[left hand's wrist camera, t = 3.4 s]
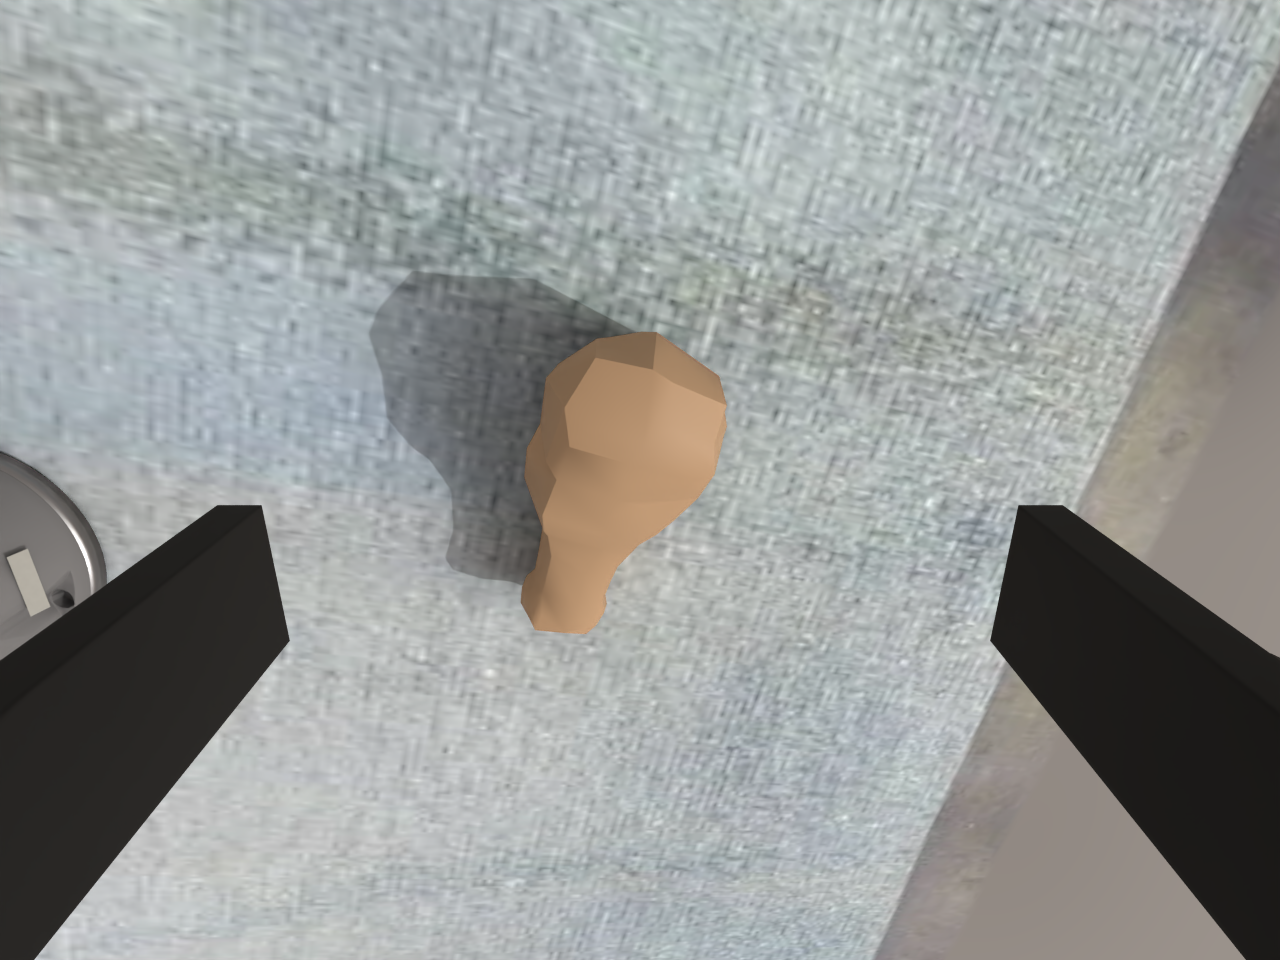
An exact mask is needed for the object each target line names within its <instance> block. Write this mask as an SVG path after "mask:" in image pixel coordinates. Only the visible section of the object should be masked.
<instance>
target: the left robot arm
mask: <svg viewBox="0 0 1280 960" xmlns="http://www.w3.org/2000/svg"><path fill="white" fill-rule="evenodd" d="M289 641H290V640H289V635H288V630H287V625H286V620H285V616H284V611H283V606H282V601H281V596H280V592H279V587H278V582H277V577H276V572H275V568H274V563H273V558H272V553H271V548H270V544H269V539H268V534H267V529H266V524H265V520H264V515H263V510H262V505H217V506H216V507H214V508H213V509H211V510H210V511H209V512H207V513H206V514H204V515H203V516H202V517H200V518H199V519H197V520H196V521H195V522H193V523H192V524H190V525H189V526H188V527H186V528H185V529H183V530H182V531H181V532H179V533H178V534H176V535H175V536H174V537H172V538H171V539H169V540H168V541H167V542H165V543H164V544H162V545H161V546H160V547H158V548H157V549H155V550H154V551H153V552H151V553H150V554H148V555H147V556H146V557H144V558H143V559H141V560H140V561H139V562H137V563H136V564H134V565H133V566H132V567H130V568H129V569H127V570H126V571H125V572H123V573H122V574H120V575H119V576H118V577H116V578H115V579H113V580H112V581H111V582H109V583H108V584H107V574H106V565H105V561H104V556H103V553H102V550H101V547H100V544H99V542H98V540H97V537H96V535H95V533H94V531H93V530H92V528H91V526H90V524H89V523H88V521H87V520H86V518H85V517H84V515H83V514H82V513H81V511H80V510H79V509H78V508H77V506H76V505H75V504H74V503H73V502H72V501H71V500H70V499H69V498H68V497H67V495H66V494H65V493H63V492H62V491H61V490H60V489H59V488H58V487H57V486H56V485H55V484H53V483H52V482H51V481H49V480H48V479H47V478H46V477H44V476H43V475H41V474H40V473H38V472H37V471H35V470H34V469H32V468H31V467H29V466H27V465H25V464H24V463H22V462H20V461H18V460H16V459H14V458H12V457H9V456H7V455H4V454H2V453H0V960H34V959H35V958H36V957H37V955H38V954H39V953H40V952H41V950H42V949H43V948H44V947H45V945H46V944H47V943H48V942H49V940H50V939H51V938H52V937H53V935H54V934H55V933H56V932H57V930H58V929H59V928H60V927H61V926H62V924H63V923H64V922H65V921H66V919H67V918H68V917H69V916H70V914H71V913H72V912H73V911H74V909H75V908H76V907H77V906H78V904H79V903H80V902H81V901H82V899H83V898H84V897H85V896H86V894H87V893H88V892H89V891H90V889H91V888H92V887H93V886H94V884H95V883H96V882H97V881H98V879H99V878H100V877H101V876H102V874H103V873H104V872H105V871H106V869H107V868H108V867H109V866H110V864H111V863H112V862H113V861H114V859H115V858H116V857H117V856H118V854H119V853H120V852H121V851H122V849H123V848H124V847H125V846H126V844H127V843H128V842H129V841H130V839H131V838H132V837H133V836H134V834H135V833H136V832H137V831H138V829H139V828H140V827H141V826H142V824H143V823H144V822H145V821H146V819H147V818H148V817H149V816H150V814H151V813H152V812H153V811H154V809H155V808H156V807H157V806H158V804H159V803H160V802H161V801H162V799H163V798H164V797H165V796H166V794H167V793H168V792H169V791H170V789H171V788H172V787H173V786H174V784H175V783H176V782H177V781H178V779H179V778H180V777H181V776H182V774H183V773H184V772H185V771H186V769H187V768H188V767H189V766H190V764H191V763H192V762H193V761H194V759H195V758H196V757H197V756H198V755H199V753H200V752H201V751H202V750H203V748H204V747H205V746H206V745H207V743H208V742H209V741H210V740H211V738H212V737H213V736H214V735H215V733H216V732H217V731H218V730H219V728H220V727H221V726H222V725H223V723H224V722H225V721H226V720H227V718H228V717H229V716H230V715H231V713H232V712H233V711H234V710H235V708H236V707H237V706H238V705H239V703H240V702H241V701H242V700H243V698H244V697H245V696H246V695H247V693H248V692H249V691H250V690H251V688H252V687H253V686H254V685H255V683H256V682H257V681H258V680H259V678H260V677H261V676H262V675H263V673H264V672H265V671H266V670H267V668H268V667H269V666H270V665H271V663H272V662H273V661H274V660H275V658H276V657H277V656H278V655H279V653H280V652H281V651H282V650H283V648H284V647H285V646H286V645H287V643H288V642H289ZM990 641H991V642H992V643H993V645H994V646H995V647H996V648H997V650H998V651H999V652H1000V653H1001V655H1002V656H1003V657H1004V658H1005V660H1006V661H1007V662H1008V663H1009V665H1010V666H1011V667H1012V668H1013V670H1014V671H1015V672H1016V673H1017V675H1018V676H1019V677H1020V678H1021V680H1022V681H1023V682H1024V683H1025V685H1026V686H1027V687H1028V688H1029V690H1030V691H1031V692H1032V693H1033V695H1034V696H1035V697H1036V698H1037V700H1038V701H1039V702H1040V703H1041V705H1042V706H1043V707H1044V708H1045V710H1046V711H1047V712H1048V713H1049V715H1050V716H1051V717H1052V718H1053V720H1054V721H1055V722H1056V723H1057V725H1058V726H1059V727H1060V728H1061V730H1062V731H1063V732H1064V733H1065V735H1066V736H1067V737H1068V738H1069V739H1070V741H1071V742H1072V743H1073V744H1074V746H1075V747H1076V748H1077V750H1078V751H1079V752H1080V753H1081V755H1082V756H1083V757H1084V758H1085V759H1086V761H1087V762H1088V763H1089V764H1090V766H1091V767H1092V768H1093V769H1094V771H1095V772H1096V773H1097V774H1098V776H1099V777H1100V778H1101V779H1102V781H1103V782H1104V783H1105V784H1106V786H1107V787H1108V788H1109V789H1110V791H1111V792H1112V793H1113V794H1114V796H1115V797H1116V798H1117V799H1118V801H1119V802H1120V803H1121V804H1122V806H1123V807H1124V808H1125V809H1126V811H1127V812H1128V813H1129V814H1130V816H1131V817H1132V818H1133V819H1134V821H1135V822H1136V823H1137V824H1138V826H1139V827H1140V828H1141V829H1142V831H1143V832H1144V833H1145V834H1146V836H1147V837H1148V838H1149V839H1150V841H1151V842H1152V843H1153V844H1154V846H1155V847H1156V848H1157V849H1158V851H1159V852H1160V853H1161V854H1162V856H1163V857H1164V858H1165V859H1166V861H1167V862H1168V863H1169V864H1170V866H1171V867H1172V868H1173V869H1174V871H1175V872H1176V873H1177V874H1178V876H1179V877H1180V878H1181V879H1182V881H1183V882H1184V883H1185V884H1186V886H1187V887H1188V888H1189V889H1190V891H1191V892H1192V893H1193V894H1194V896H1195V897H1196V898H1197V899H1198V901H1199V902H1200V903H1201V904H1202V906H1203V907H1204V908H1205V909H1206V911H1207V912H1208V913H1209V914H1210V916H1211V917H1212V918H1213V919H1214V921H1215V922H1216V923H1217V924H1218V926H1219V927H1220V928H1221V929H1222V931H1223V932H1224V933H1225V934H1226V935H1227V937H1228V938H1229V939H1230V940H1231V942H1232V943H1233V944H1234V945H1235V947H1236V948H1237V949H1238V950H1239V952H1240V953H1241V954H1242V955H1243V957H1244V958H1245V959H1246V960H1280V658H1279V657H1277V656H1275V655H1273V654H1270V653H1269V652H1267V651H1266V650H1265V649H1263V648H1262V647H1260V646H1259V645H1258V644H1256V643H1255V642H1253V641H1252V640H1251V639H1249V638H1248V637H1246V636H1245V635H1244V634H1242V633H1241V632H1239V631H1238V630H1236V629H1235V628H1234V627H1232V626H1231V625H1230V624H1228V623H1227V622H1225V621H1224V620H1222V619H1221V618H1220V617H1218V616H1217V615H1216V614H1214V613H1213V612H1211V611H1210V610H1209V609H1207V608H1206V607H1204V606H1203V605H1202V604H1200V603H1199V602H1197V601H1196V600H1194V599H1193V598H1192V597H1190V596H1189V595H1188V594H1186V593H1185V592H1183V591H1182V590H1180V589H1179V588H1178V587H1176V586H1175V585H1173V584H1172V583H1171V582H1169V581H1168V580H1167V579H1165V578H1164V577H1162V576H1161V575H1159V574H1158V573H1157V572H1155V571H1154V570H1153V569H1151V568H1150V567H1148V566H1147V565H1146V564H1144V563H1143V562H1141V561H1140V560H1139V559H1137V558H1136V557H1134V556H1133V555H1132V554H1130V553H1129V552H1127V551H1126V550H1125V549H1123V548H1122V547H1120V546H1119V545H1118V544H1116V543H1115V542H1113V541H1112V540H1111V539H1109V538H1108V537H1106V536H1105V535H1104V534H1102V533H1101V532H1099V531H1098V530H1097V529H1095V528H1094V527H1092V526H1091V525H1090V524H1088V523H1087V522H1085V521H1084V520H1083V519H1081V518H1080V517H1078V516H1077V515H1076V514H1074V513H1073V512H1071V511H1070V510H1069V509H1067V508H1066V507H1064V506H1063V505H1018V510H1017V515H1016V520H1015V524H1014V529H1013V534H1012V539H1011V544H1010V548H1009V553H1008V558H1007V563H1006V568H1005V572H1004V577H1003V582H1002V587H1001V592H1000V596H999V601H998V606H997V611H996V616H995V620H994V625H993V630H992V635H991V640H990Z"/></svg>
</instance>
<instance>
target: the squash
mask: <svg viewBox="0 0 1280 960" xmlns="http://www.w3.org/2000/svg"><path fill="white" fill-rule="evenodd" d="M726 406H727V405H726V401H725V397H724V393H723V390H722V386H721V382H720V378H719V376H718V375H717V374H715V373H714V372H712V371H711V370H710V369H708V368H707V367H705V366H704V365H702V364H701V363H700V362H698V361H697V360H695V359H694V358H693V357H691V356H690V355H688V354H687V353H685V352H684V351H683V350H681V349H680V348H678V347H677V346H676V345H674V344H673V343H671V342H670V341H668V340H667V339H666V338H664V337H663V336H661V335H660V334H658V333H657V332H637V333H631V334H625V335H619V336H614V337H607V338H598V339H596V340H594V341H593V342H591V343H589V344H588V345H586V346H585V347H583V348H582V349H580V350H579V351H577V352H576V353H574V354H573V355H571V356H570V357H568V358H566V359H565V360H563V361H562V362H560V363H559V364H558V365H557V366H556V367H555V368H554V370H553V371H552V372H551V373H550V374H549V375H548V376H547V378H546V382H545V390H544V398H543V405H542V413H541V421H540V425H539V427H538V428H537V430H536V432H535V434H534V436H533V438H532V440H531V442H530V443H529V445H528V447H527V453H526V464H525V475H524V478H525V481H526V484H527V486H528V489H529V492H530V495H531V497H532V500H533V503H534V506H535V509H536V511H537V514H538V517H539V520H540V523H541V525H542V534H541V541H540V546H539V551H538V556H537V561H536V566H535V569H534V570H533V571H532V572H530V573H529V574H528V575H527V576H526V579H525V581H524V584H523V586H522V594H521V604H522V606H523V607H524V609H525V611H526V613H527V615H528V617H529V618H530V620H531V622H532V624H533V626H534V628H535V630H540V631H550V632H561V633H578V634H586V633H588V632H589V631H590V630H591V629H592V628H593V627H595V626H596V625H597V623H598V621H599V620H600V618H601V616H602V615H603V613H604V611H605V607H606V604H607V603H606V597H605V593H606V591H607V588H608V586H609V584H610V581H611V579H612V577H613V575H614V573H615V571H616V569H617V567H618V566H619V565H620V564H621V562H622V561H623V560H624V559H625V558H626V557H627V556H628V555H629V554H630V553H631V552H632V551H633V550H634V549H635V548H636V547H637V546H638V545H639V544H641V543H643V542H644V541H646V540H648V539H650V538H651V537H653V536H655V535H657V534H658V533H659V532H660V531H661V530H663V529H664V528H665V527H666V526H668V525H669V524H670V523H671V522H673V521H674V520H675V519H676V518H677V517H678V516H679V515H680V514H681V513H682V512H683V511H685V510H686V509H687V508H688V507H689V506H690V505H691V504H692V503H693V502H694V501H695V500H696V499H697V498H698V497H699V496H700V494H701V493H702V491H703V490H704V489H705V487H706V486H707V484H708V483H709V482H710V480H711V479H712V477H713V476H714V474H715V470H716V466H717V462H718V458H719V454H720V449H721V445H722V441H723V437H724V434H725V430H726V427H727V425H726V418H725V409H726Z"/></svg>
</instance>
